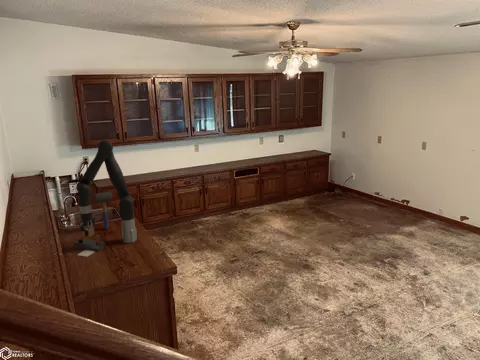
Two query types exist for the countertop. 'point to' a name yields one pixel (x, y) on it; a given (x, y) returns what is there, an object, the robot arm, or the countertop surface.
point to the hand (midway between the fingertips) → (89, 234)
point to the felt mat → (86, 253)
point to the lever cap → (90, 231)
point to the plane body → (90, 243)
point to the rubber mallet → (104, 205)
